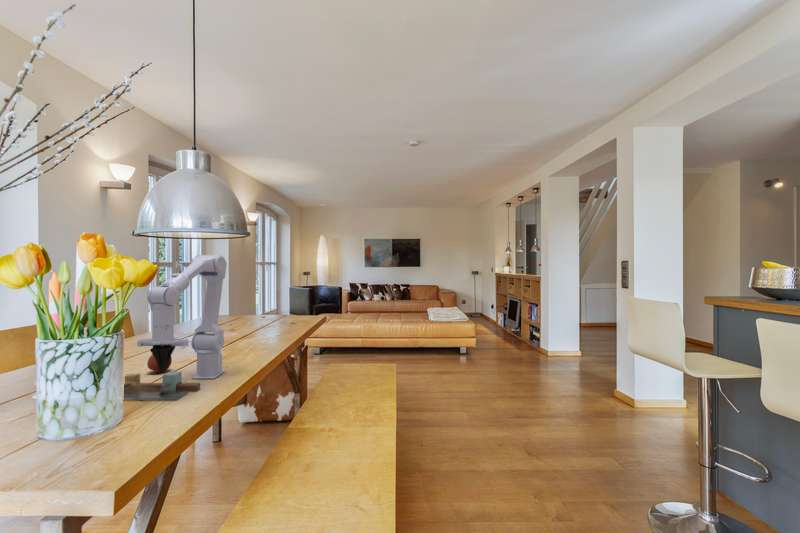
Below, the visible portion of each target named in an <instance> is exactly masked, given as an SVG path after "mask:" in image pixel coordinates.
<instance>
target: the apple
mask: <svg viewBox="0 0 800 533" xmlns="http://www.w3.org/2000/svg"><path fill="white" fill-rule="evenodd" d="M172 362H173V361H172V356H171V357H170V359H169V362H168V366H167V369H165V370H159V367H158V364H157V361H156V359H155V357H154V355H153V354H152V353H151V355H150V356H149V357H148V358H147V368H148V369H149V370H151V371H154V372H157V373H159V374H161V373H165V372H167V371H168V370H169V368H170V367H171V364H172Z"/></svg>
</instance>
